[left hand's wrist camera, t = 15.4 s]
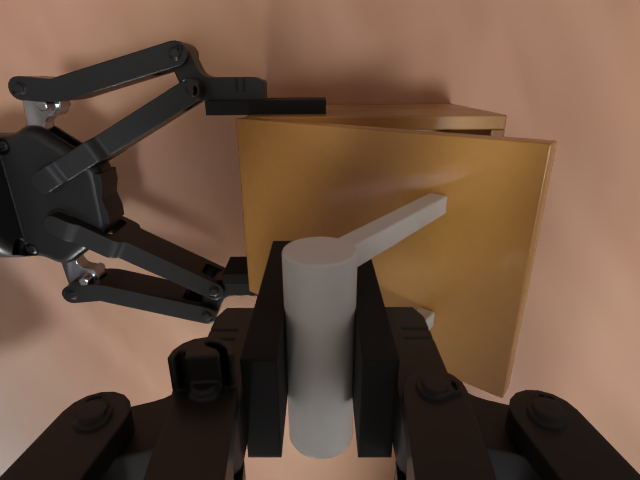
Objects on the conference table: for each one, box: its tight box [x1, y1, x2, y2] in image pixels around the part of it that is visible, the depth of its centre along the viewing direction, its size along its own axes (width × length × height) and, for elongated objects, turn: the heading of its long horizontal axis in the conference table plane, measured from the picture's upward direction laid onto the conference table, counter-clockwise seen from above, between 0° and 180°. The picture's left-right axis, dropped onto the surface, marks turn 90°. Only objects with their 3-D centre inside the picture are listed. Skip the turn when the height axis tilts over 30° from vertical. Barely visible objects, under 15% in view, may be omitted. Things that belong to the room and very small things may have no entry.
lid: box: [236, 117, 557, 459], centre depth 16 cm, size 14×10×9 cm
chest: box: [245, 104, 506, 137], centre depth 28 cm, size 14×10×9 cm
